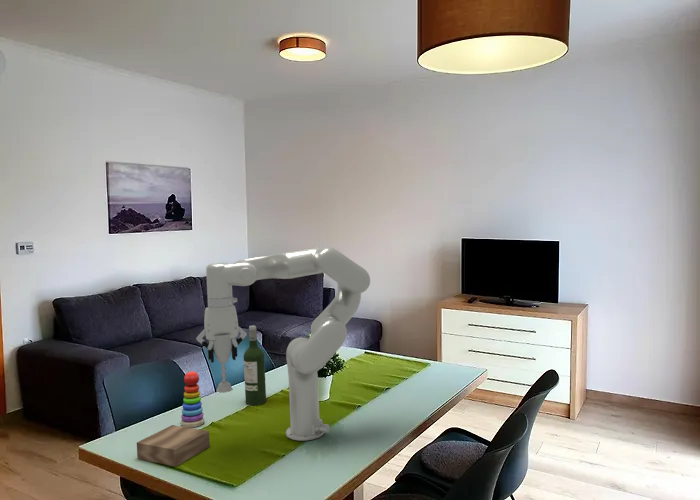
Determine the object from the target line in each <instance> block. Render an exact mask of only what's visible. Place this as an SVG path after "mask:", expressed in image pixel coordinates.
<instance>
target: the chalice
mask: <svg viewBox="0 0 700 500" xmlns="http://www.w3.org/2000/svg"><path fill="white" fill-rule="evenodd" d="M230 335H231V334H228V335H221V336H214V335H213V336H214V338H215V340H214V343H213V346H212V348H213V352H214V356H215V357H216V359H217V361H218V363H221V368H220V370H221V374H220V376H221V378H222V380H221V382H219V383H218V386H217V387H216V388H217V389H216V393H220V394H221V393H222V394H223V393H229V392H232V391H233V390H234V389H233V387H232V385H231V383H230V382H229V381H227V380H226V376H227V373H226V371H227V367H226V366H225V365H226V363H227V362H228V361H229V359H230V356H231V355H232V344H233V343H232V340H231V339H230Z"/></svg>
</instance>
